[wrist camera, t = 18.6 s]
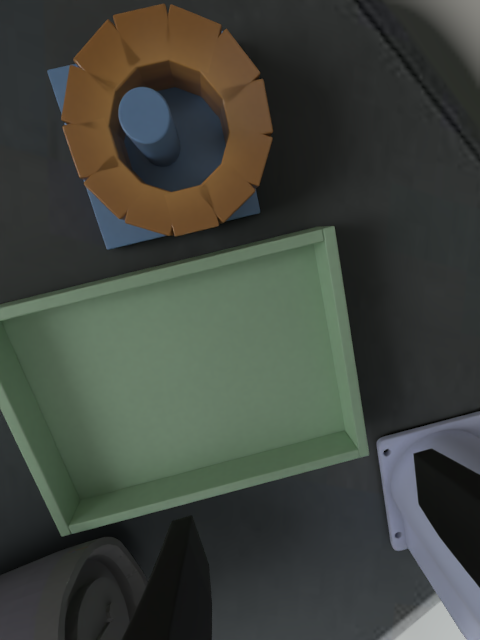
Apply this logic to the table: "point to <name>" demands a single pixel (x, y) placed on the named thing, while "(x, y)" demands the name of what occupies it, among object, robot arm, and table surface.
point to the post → (161, 149)
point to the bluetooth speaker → (72, 594)
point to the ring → (159, 74)
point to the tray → (183, 379)
